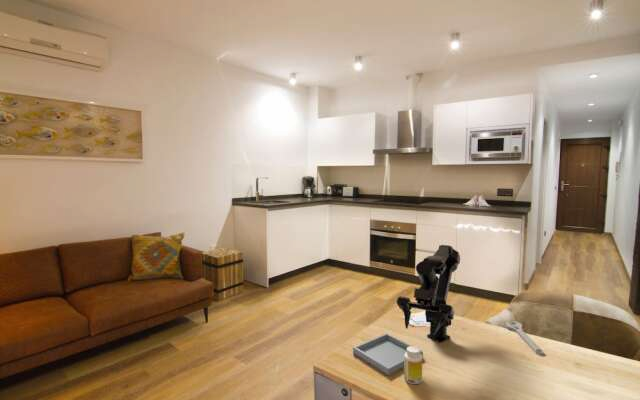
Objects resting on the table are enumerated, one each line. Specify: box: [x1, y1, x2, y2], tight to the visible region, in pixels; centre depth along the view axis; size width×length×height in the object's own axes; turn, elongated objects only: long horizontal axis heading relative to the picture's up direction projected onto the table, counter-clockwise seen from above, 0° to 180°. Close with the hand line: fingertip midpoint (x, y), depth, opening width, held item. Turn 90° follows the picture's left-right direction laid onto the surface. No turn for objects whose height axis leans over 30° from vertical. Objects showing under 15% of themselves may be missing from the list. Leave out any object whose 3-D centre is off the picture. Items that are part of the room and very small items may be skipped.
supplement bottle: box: [403, 345, 423, 385], centre depth 110 cm, size 6×6×10 cm
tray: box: [352, 332, 424, 377], centre depth 125 cm, size 18×18×2 cm
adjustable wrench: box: [505, 320, 544, 356], centre depth 135 cm, size 25×6×2 cm, turn 169°
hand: (419, 331), depth 116 cm, fingers open, 9 cm apart
